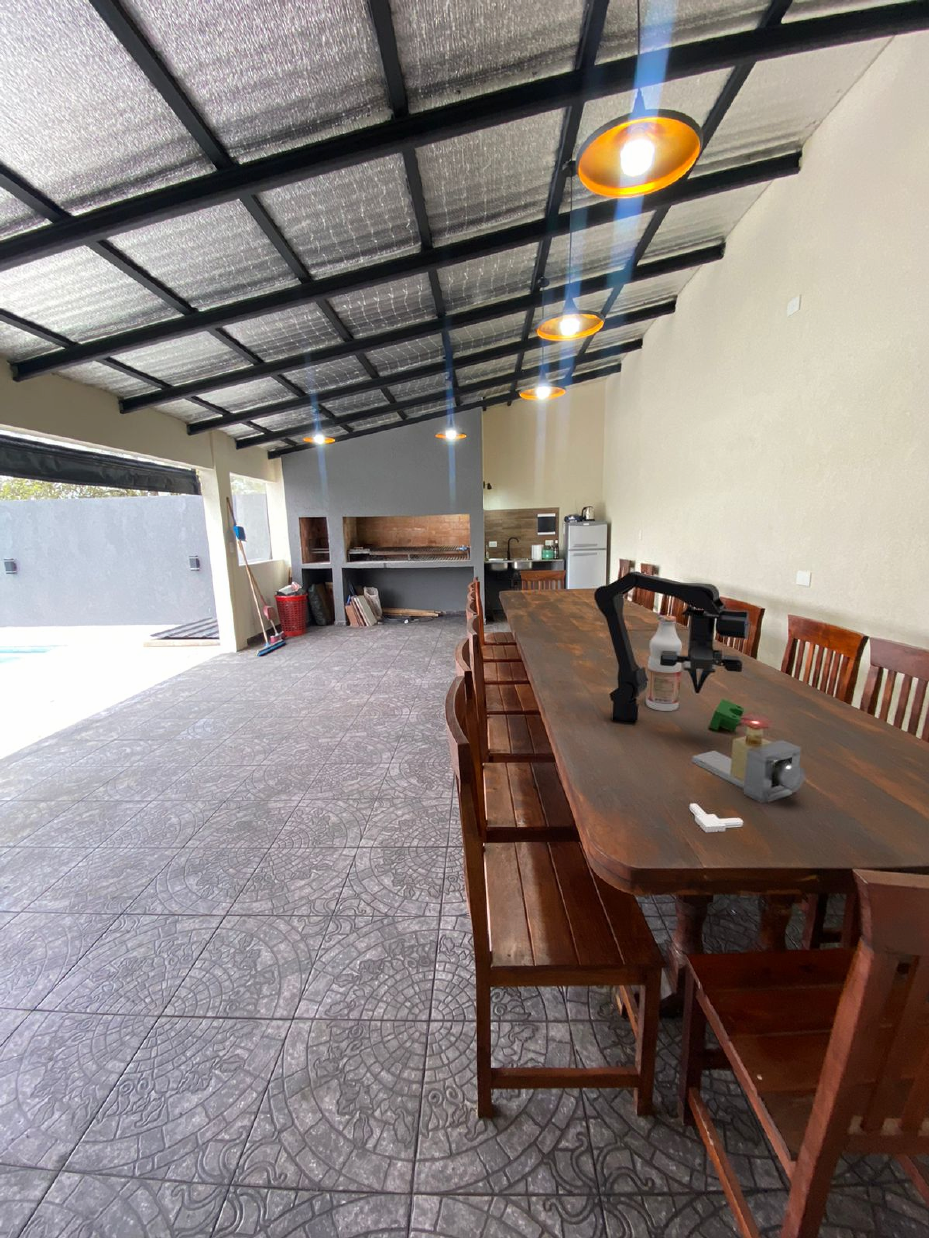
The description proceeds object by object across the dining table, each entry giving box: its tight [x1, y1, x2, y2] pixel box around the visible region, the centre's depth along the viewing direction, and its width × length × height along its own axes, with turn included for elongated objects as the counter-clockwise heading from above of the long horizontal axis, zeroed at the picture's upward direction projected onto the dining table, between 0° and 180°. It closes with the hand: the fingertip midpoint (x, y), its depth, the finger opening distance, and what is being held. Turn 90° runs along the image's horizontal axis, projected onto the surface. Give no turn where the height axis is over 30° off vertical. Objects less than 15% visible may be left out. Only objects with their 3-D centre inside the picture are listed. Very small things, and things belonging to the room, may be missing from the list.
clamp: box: [708, 699, 745, 732], centre depth 138 cm, size 12×6×9 cm, turn 139°
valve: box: [730, 714, 780, 781], centre depth 106 cm, size 8×6×13 cm
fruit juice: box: [645, 614, 683, 712], centre depth 151 cm, size 9×9×28 cm
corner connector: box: [689, 803, 744, 833], centre depth 95 cm, size 8×8×2 cm
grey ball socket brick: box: [692, 739, 806, 804], centre depth 108 cm, size 22×10×10 cm, turn 23°
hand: (697, 692), depth 130 cm, fingers closed
